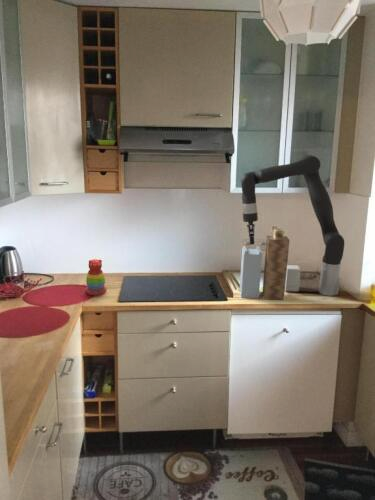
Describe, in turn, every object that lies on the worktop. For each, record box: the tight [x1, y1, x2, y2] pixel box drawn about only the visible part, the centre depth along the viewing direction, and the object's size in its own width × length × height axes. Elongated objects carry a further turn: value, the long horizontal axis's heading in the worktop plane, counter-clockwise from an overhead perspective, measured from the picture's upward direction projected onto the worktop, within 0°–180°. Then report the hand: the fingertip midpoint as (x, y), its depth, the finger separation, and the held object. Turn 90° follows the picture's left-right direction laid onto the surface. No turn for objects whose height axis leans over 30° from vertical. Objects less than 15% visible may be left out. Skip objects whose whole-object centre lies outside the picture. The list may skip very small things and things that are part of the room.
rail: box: [270, 225, 286, 240], centre depth 219 cm, size 4×15×4 cm, turn 179°
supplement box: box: [285, 264, 302, 292], centre depth 236 cm, size 7×7×13 cm
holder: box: [239, 245, 263, 299], centre depth 225 cm, size 9×10×25 cm
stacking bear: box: [84, 258, 107, 296], centre depth 223 cm, size 11×10×18 cm
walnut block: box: [261, 235, 290, 301], centre depth 220 cm, size 10×7×32 cm
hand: (252, 242), depth 226 cm, fingers open, 8 cm apart
